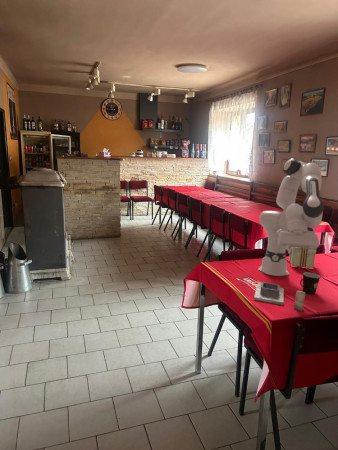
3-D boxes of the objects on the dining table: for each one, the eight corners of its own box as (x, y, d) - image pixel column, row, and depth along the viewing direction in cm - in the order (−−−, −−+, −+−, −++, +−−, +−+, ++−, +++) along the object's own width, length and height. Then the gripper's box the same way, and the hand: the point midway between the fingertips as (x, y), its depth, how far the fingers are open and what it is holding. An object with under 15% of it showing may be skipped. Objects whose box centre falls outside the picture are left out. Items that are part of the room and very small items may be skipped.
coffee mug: (312, 289, 187) (315, 272, 185) (320, 296, 179) (323, 278, 177) (292, 288, 187) (295, 271, 185) (299, 295, 178) (301, 277, 176)
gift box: (282, 260, 239) (285, 237, 236) (309, 263, 237) (313, 240, 233) (286, 268, 223) (290, 243, 219) (315, 271, 220) (319, 246, 217)
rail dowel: (293, 306, 163) (296, 290, 162) (302, 308, 162) (305, 291, 160) (294, 309, 160) (296, 293, 158) (303, 311, 158) (305, 294, 157)
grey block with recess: (257, 286, 187) (258, 277, 186) (283, 290, 183) (284, 282, 182) (254, 299, 168) (255, 290, 167) (283, 305, 164) (284, 295, 163)
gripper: (278, 226, 174) (281, 249, 166) (318, 229, 173) (322, 252, 165) (275, 232, 179) (277, 255, 171) (313, 235, 178) (317, 258, 171)
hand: (299, 254), depth 168 cm, fingers open, 8 cm apart
